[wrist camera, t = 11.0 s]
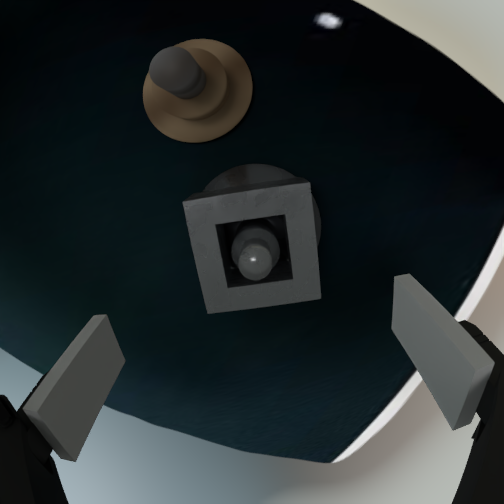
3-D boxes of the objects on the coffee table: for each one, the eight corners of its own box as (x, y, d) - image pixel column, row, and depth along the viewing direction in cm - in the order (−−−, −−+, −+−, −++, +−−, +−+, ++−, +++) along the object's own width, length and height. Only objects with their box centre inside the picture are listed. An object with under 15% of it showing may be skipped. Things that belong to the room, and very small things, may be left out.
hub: (167, 219, 30) (131, 250, 21) (266, 136, 27) (270, 131, 18) (246, 308, 33) (242, 366, 24) (343, 238, 30) (376, 277, 21)
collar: (193, 193, 26) (182, 201, 22) (302, 177, 25) (309, 182, 22) (213, 291, 29) (207, 313, 25) (313, 278, 28) (321, 298, 24)
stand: (125, 90, 26) (78, 73, 17) (206, 22, 24) (187, -21, 15) (189, 164, 28) (160, 173, 20) (275, 96, 26) (283, 74, 17)
